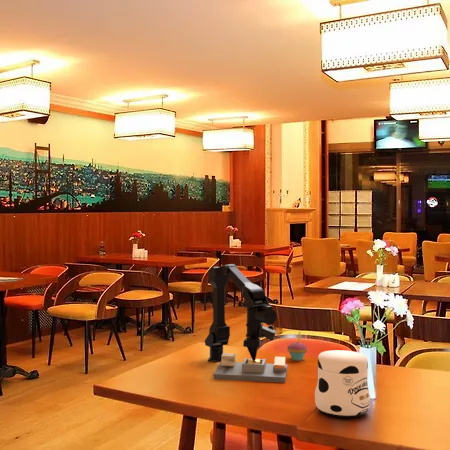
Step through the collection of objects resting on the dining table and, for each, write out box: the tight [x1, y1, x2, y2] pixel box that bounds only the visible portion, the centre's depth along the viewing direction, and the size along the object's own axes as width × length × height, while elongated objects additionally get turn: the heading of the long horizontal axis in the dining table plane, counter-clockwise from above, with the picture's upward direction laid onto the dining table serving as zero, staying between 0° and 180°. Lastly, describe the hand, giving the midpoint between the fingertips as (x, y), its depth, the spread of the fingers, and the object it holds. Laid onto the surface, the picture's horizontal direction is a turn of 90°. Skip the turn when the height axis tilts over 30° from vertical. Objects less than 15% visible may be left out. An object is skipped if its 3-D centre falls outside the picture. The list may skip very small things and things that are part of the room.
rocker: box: [273, 356, 286, 369], centre depth 227 cm, size 7×4×1 cm, turn 171°
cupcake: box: [286, 331, 308, 362], centre depth 250 cm, size 9×8×12 cm
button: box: [248, 358, 261, 364], centre depth 228 cm, size 5×5×3 cm
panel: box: [212, 357, 288, 384], centre depth 228 cm, size 18×27×5 cm, turn 81°
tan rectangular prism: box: [220, 352, 236, 366], centre depth 233 cm, size 4×5×4 cm
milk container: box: [314, 349, 371, 419], centre depth 187 cm, size 17×17×18 cm
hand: (253, 360), depth 228 cm, fingers closed, pressing on button
